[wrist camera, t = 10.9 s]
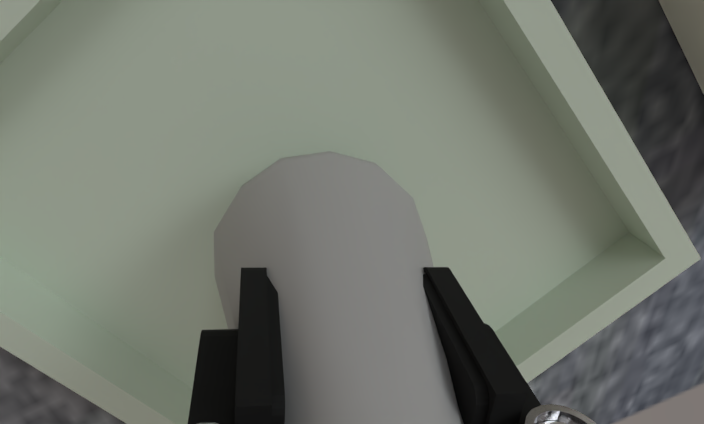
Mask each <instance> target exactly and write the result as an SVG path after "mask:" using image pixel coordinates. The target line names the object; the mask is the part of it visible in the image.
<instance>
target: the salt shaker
mask: <svg viewBox="0 0 704 424" xmlns="http://www.w3.org/2000/svg"><path fill="white" fill-rule="evenodd" d="M263 267H266V268H267V276H268V278H269V279H270V281H271V282H272V284H273V286H274V287H275V289H276V290H277V292H278V301H279V316H280V330H281V345H282V359H283V374H284V388H285V424H463V420H462V417H461V414H460V411H459V408H458V404H457V400H456V396H455V392H454V387H453V383H452V379H451V375H450V371H449V367H448V363H447V359H446V356H445V352H444V349H443V346H442V343H441V340H440V337H439V334H438V331H437V327H436V324H435V321H434V318H433V315H432V312H431V309H430V306H429V303H428V299H427V296H426V293H425V290H424V287H423V274H426V272H424V269H423V268H424V267H434V266H433V262H432V257H431V253H430V249H429V245H428V241H427V237H426V234H425V231H424V228H423V225H422V222H421V219H420V216H419V214H418V211H417V208H416V205H415V202H414V199H413V197H411V196H410V195H409V194H408V193H407V192H406V191H405V190H404V189H403V188H402V187H401V186H400V185H399V184H398V183H397V182H395V181H394V180H393V179H392V178H391V177H390V176H389V175H388V174H387V173H386V172H385V171H384V170H383V169H382V168H381V167H379V166H378V165H377V164H376V163H374V162H370V161H366V160H362V159H358V158H354V157H351V156H347V155H343V154H339V153H335V152H331V151H327V152H320V153H313V154H306V155H299V156H292V157H285V158H280V159H279V160H277V161H276V162H275V163H273V164H272V165H270V166H269V167H267V168H266V169H265V170H263V171H262V172H260V173H259V174H258V175H256V176H255V177H253V178H252V179H251V180H249V181H248V182H246V183H245V184H243V185H242V186H241V188H240V189H239V191H238V193H237V194H236V196H235V198H234V199H233V201H232V202H231V204H230V206H229V207H228V209H227V211H226V212H225V214H224V216H223V217H222V219H221V221H220V222H219V224H218V226H217V228H216V229H215V231H214V272H215V280H216V284H217V287H218V291H219V295H220V299H221V303H222V307H223V310H224V314H225V318H226V322H227V326H228V329H238V323H239V301H240V278H241V268H263Z"/></svg>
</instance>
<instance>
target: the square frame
mask: <svg viewBox="0 0 704 424" xmlns="http://www.w3.org/2000/svg"><path fill="white" fill-rule="evenodd" d="M659 2H660V5H661V7H662V9H663V11H664V13H665V15H666V17H667V19H668V21H669V23H670V25H671V27H672V30H673V32H674V34H675V36H676V38H677V40H678V42H679V44H680V46H681V48H682V50H683V52H684V55H685V57H686V59H687V61H688V63H689V65H690V67H691V69H692V71H693V73H694V75H695V77H696V80H697V82H698V84H699V86H700V88H701V90H702V92H703V94H704V0H659Z"/></svg>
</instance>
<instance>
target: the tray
mask: <svg viewBox="0 0 704 424" xmlns="http://www.w3.org/2000/svg"><path fill="white" fill-rule="evenodd" d="M327 151H331V152H335V153H339V154H343V155H347V156H351V157H354V158H358V159H362V160H366V161H370V162H374V163H376V164H377V165H378V166H379V167H381V168H382V169H383V170H384V171H385V172H386V173H387V174H388V175H389V176H390V177H391V178H392V179H393V180H394V181H395V182H397V183H398V184H399V185H400V186H401V187H402V188H403V189H404V190H405V191H406V192H407V193H408V194H409V195H410V196H411V197H413V199H414V202H415V205H416V208H417V211H418V214H419V216H420V219H421V222H422V225H423V228H424V231H425V234H426V237H427V241H428V245H429V249H430V253H431V257H432V262H433V266H434V267H449V269H450V270H451V271H452V273H453V274H454V276H455V278H456V279H457V281H458V282H459V284H460V286H461V287H462V289H463V291H464V292H465V294H466V295H467V297H468V299H469V300H470V302H471V303H472V305H473V307H474V308H475V310H476V311H477V313H478V315H479V316H480V318H481V319H482V321H483V323H485V324H488V325H489V326H490V327H491V328H492V329H493V331H494V332H495V334H496V335H497V337H498V338H499V340H500V342H501V343H502V345H503V346H504V348H505V349H506V351H507V353H508V354H509V356H510V357H511V359H512V360H513V362H514V364H515V365H516V367H517V368H518V370H519V371H520V373H521V375H522V376H523V378H524V379H525V381H526V382H527V383H528V382H530V381H531V380H532V379H534V378H535V377H536V376H538V375H539V374H541V373H542V372H543V371H545V370H546V369H548V368H549V367H550V366H552V365H553V364H555V363H556V362H557V361H559V360H560V359H562V358H563V357H564V356H566V355H567V354H569V353H570V352H571V351H573V350H574V349H576V348H577V347H578V346H580V345H581V344H583V343H584V342H585V341H587V340H588V339H590V338H591V337H592V336H594V335H595V334H597V333H598V332H599V331H601V330H602V329H603V328H605V327H606V326H608V325H609V324H610V323H612V322H613V321H615V320H616V319H617V318H619V317H620V316H622V315H623V314H624V313H626V312H627V311H629V310H630V309H631V308H633V307H634V306H636V305H637V304H638V303H640V302H641V301H643V300H644V299H645V298H647V297H648V296H650V295H651V294H652V293H654V292H655V291H657V290H658V289H659V288H661V287H662V286H663V285H665V284H666V283H668V282H669V281H670V280H672V279H673V278H675V277H676V276H677V275H679V274H680V273H682V272H683V271H684V270H686V269H687V268H689V267H690V266H691V265H693V264H694V263H696V262H697V261H698V260H700V259H701V258H700V256H699V254H698V252H697V251H696V249H695V247H694V246H693V244H692V242H691V240H690V239H689V237H688V235H687V234H686V232H685V230H684V228H683V227H682V225H681V223H680V222H679V220H678V218H677V216H676V215H675V213H674V211H673V210H672V208H671V206H670V204H669V203H668V201H667V199H666V198H665V196H664V194H663V192H662V191H661V189H660V187H659V186H658V184H657V182H656V180H655V179H654V177H653V175H652V173H651V172H650V170H649V168H648V167H647V165H646V163H645V161H644V160H643V158H642V156H641V155H640V153H639V151H638V149H637V148H636V146H635V144H634V143H633V141H632V139H631V137H630V136H629V134H628V132H627V131H626V129H625V127H624V125H623V124H622V122H621V120H620V119H619V117H618V115H617V113H616V112H615V110H614V108H613V106H612V105H611V103H610V101H609V100H608V98H607V96H606V94H605V93H604V91H603V89H602V88H601V86H600V84H599V82H598V81H597V79H596V77H595V76H594V74H593V72H592V70H591V69H590V67H589V65H588V64H587V62H586V60H585V58H584V57H583V55H582V53H581V52H580V50H579V48H578V46H577V45H576V43H575V41H574V40H573V38H572V36H571V34H570V33H569V31H568V29H567V27H566V26H565V24H564V22H563V21H562V19H561V17H560V15H559V14H558V12H557V10H556V9H555V7H554V5H553V3H552V2H551V0H0V347H2V348H3V349H5V350H7V351H8V352H10V353H12V354H13V355H15V356H16V357H18V358H20V359H21V360H23V361H25V362H26V363H28V364H30V365H31V366H33V367H34V368H36V369H38V370H39V371H41V372H43V373H44V374H46V375H48V376H49V377H51V378H53V379H54V380H56V381H57V382H59V383H61V384H62V385H64V386H66V387H67V388H69V389H71V390H72V391H74V392H75V393H77V394H79V395H80V396H82V397H84V398H85V399H87V400H89V401H90V402H92V403H94V404H95V405H97V406H98V407H100V408H102V409H103V410H105V411H107V412H108V413H110V414H112V415H113V416H115V417H116V418H118V419H120V420H121V421H123V422H125V423H126V424H188V418H189V411H190V404H191V397H192V390H193V383H194V376H195V369H196V362H197V355H198V348H199V341H200V335H201V331H202V330H215V329H228V326H227V322H226V318H225V314H224V310H223V307H222V303H221V299H220V295H219V291H218V287H217V284H216V280H215V272H214V231H215V229H216V228H217V226H218V224H219V222H220V221H221V219H222V217H223V216H224V214H225V212H226V211H227V209H228V207H229V206H230V204H231V202H232V201H233V199H234V198H235V196H236V194H237V193H238V191H239V189H240V188H241V186H242V185H243V184H245V183H246V182H248V181H249V180H251V179H252V178H253V177H255V176H256V175H258V174H259V173H260V172H262V171H263V170H265V169H266V168H267V167H269V166H270V165H272V164H273V163H275V162H276V161H277V160H279V159H280V158H285V157H292V156H299V155H306V154H313V153H320V152H327Z"/></svg>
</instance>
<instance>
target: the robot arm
mask: <svg viewBox="0 0 704 424" xmlns="http://www.w3.org/2000/svg"><path fill="white" fill-rule="evenodd" d="M423 269H424V272H426V274H423V287H424V290H425V293H426V296H427V299H428V303H429V306H430V309H431V312H432V315H433V318H434V321H435V324H436V327H437V331H438V334H439V337H440V340H441V343H442V346H443V349H444V352H445V356H446V359H447V363H448V367H449V371H450V375H451V379H452V383H453V387H454V392H455V396H456V400H457V404H458V408H459V411H460V414H461V417H462V420H463V424H596V423H595V422H594V421H592V420H591V419H590V418H589V417H587V416H585V415H583V414H582V413H580V412H578V411H576V410H573V409H570V408H568V407H565V406H560V405H552V404H549V405H541V404H540V403H539V401H538V400H537V398H536V397H535V395H534V393H533V392H532V390H531V389H530V387H529V386H528V384H527V382H526V381H525V379H524V378H523V376H522V375H521V373H520V371H519V370H518V368H517V367H516V365H515V364H514V362H513V360H512V359H511V357H510V356H509V354H508V353H507V351H506V349H505V348H504V346H503V345H502V343H501V342H500V340H499V338H498V337H497V335H496V334H495V332H494V331H493V329H492V328H491V327H490V326H489V325H488V324H485V323H483V321H482V319H481V318H480V316H479V315H478V313H477V311H476V310H475V308H474V307H473V305H472V303H471V302H470V300H469V299H468V297H467V295H466V294H465V292H464V291H463V289H462V287H461V286H460V284H459V282H458V281H457V279H456V278H455V276H454V274H453V273H452V271H451V270H450V269H449V267H424V268H423ZM188 424H285V388H284V374H283V359H282V345H281V330H280V316H279V301H278V292H277V290H276V289H275V287H274V286H273V284H272V282H271V281H270V279H269V278H268V276H267V268H266V267H263V268H241V278H240V301H239V323H238V329H215V330H202V331H201V335H200V341H199V348H198V355H197V362H196V369H195V376H194V383H193V390H192V397H191V404H190V411H189V418H188Z"/></svg>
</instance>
